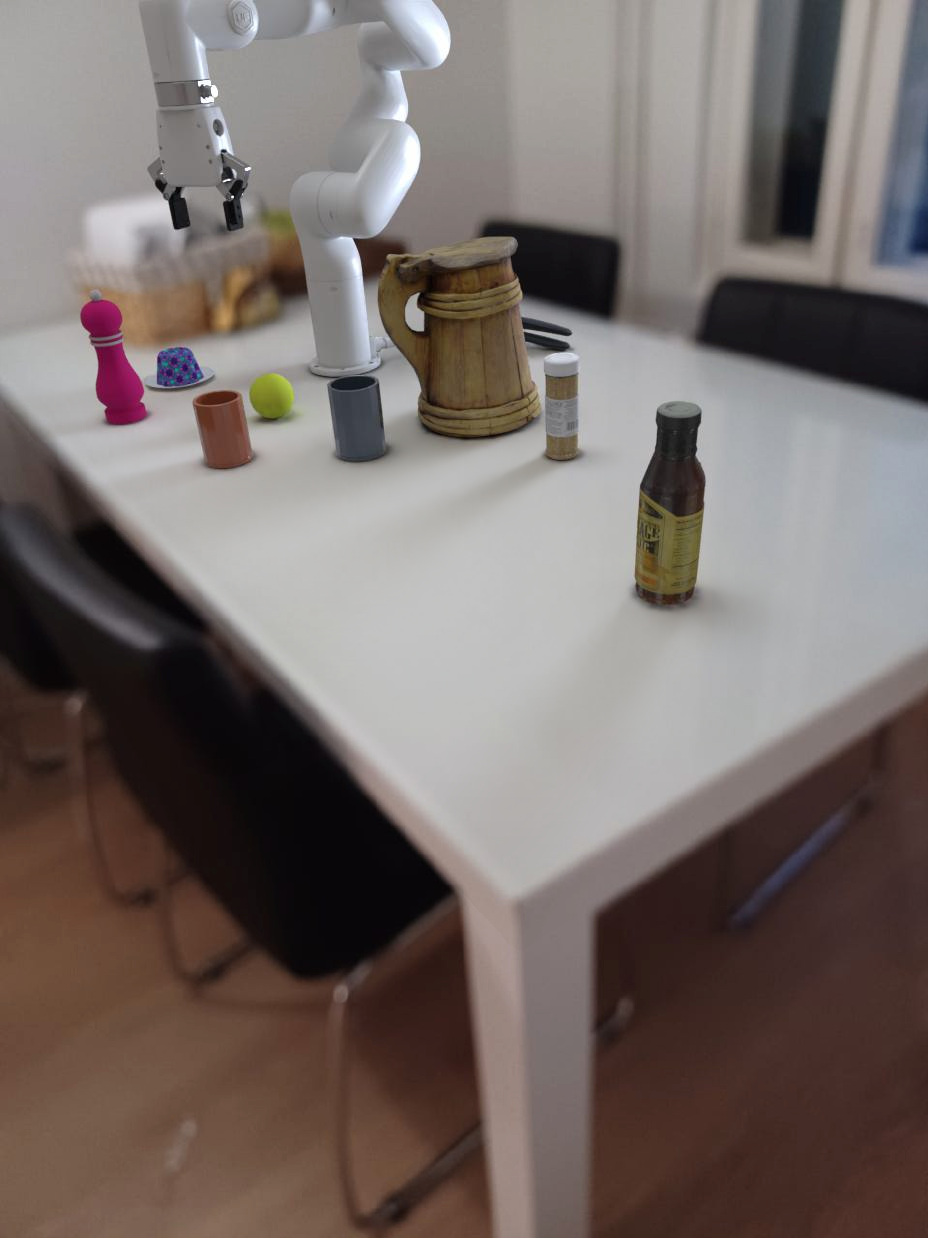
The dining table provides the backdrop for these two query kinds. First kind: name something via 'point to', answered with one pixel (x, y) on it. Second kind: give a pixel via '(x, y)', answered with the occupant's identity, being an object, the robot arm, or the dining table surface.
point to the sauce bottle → (671, 509)
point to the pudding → (177, 369)
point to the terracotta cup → (223, 428)
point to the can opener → (548, 328)
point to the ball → (271, 395)
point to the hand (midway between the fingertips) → (208, 228)
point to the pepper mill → (112, 362)
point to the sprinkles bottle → (561, 405)
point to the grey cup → (357, 417)
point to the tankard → (463, 335)
